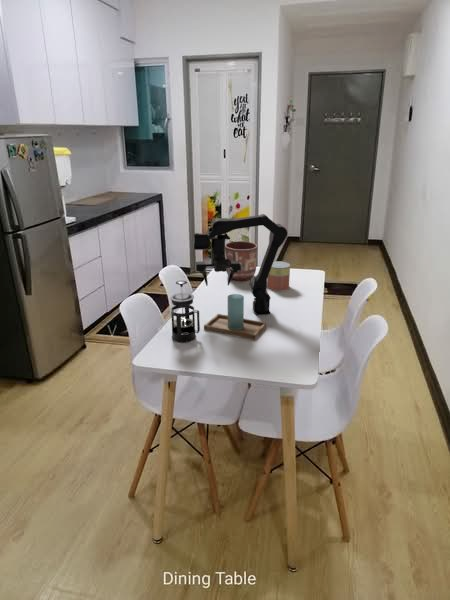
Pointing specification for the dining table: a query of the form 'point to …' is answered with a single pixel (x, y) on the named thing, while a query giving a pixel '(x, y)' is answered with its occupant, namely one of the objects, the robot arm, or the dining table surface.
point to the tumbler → (235, 311)
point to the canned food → (279, 276)
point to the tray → (248, 331)
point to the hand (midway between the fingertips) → (217, 285)
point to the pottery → (242, 258)
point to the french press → (183, 323)
